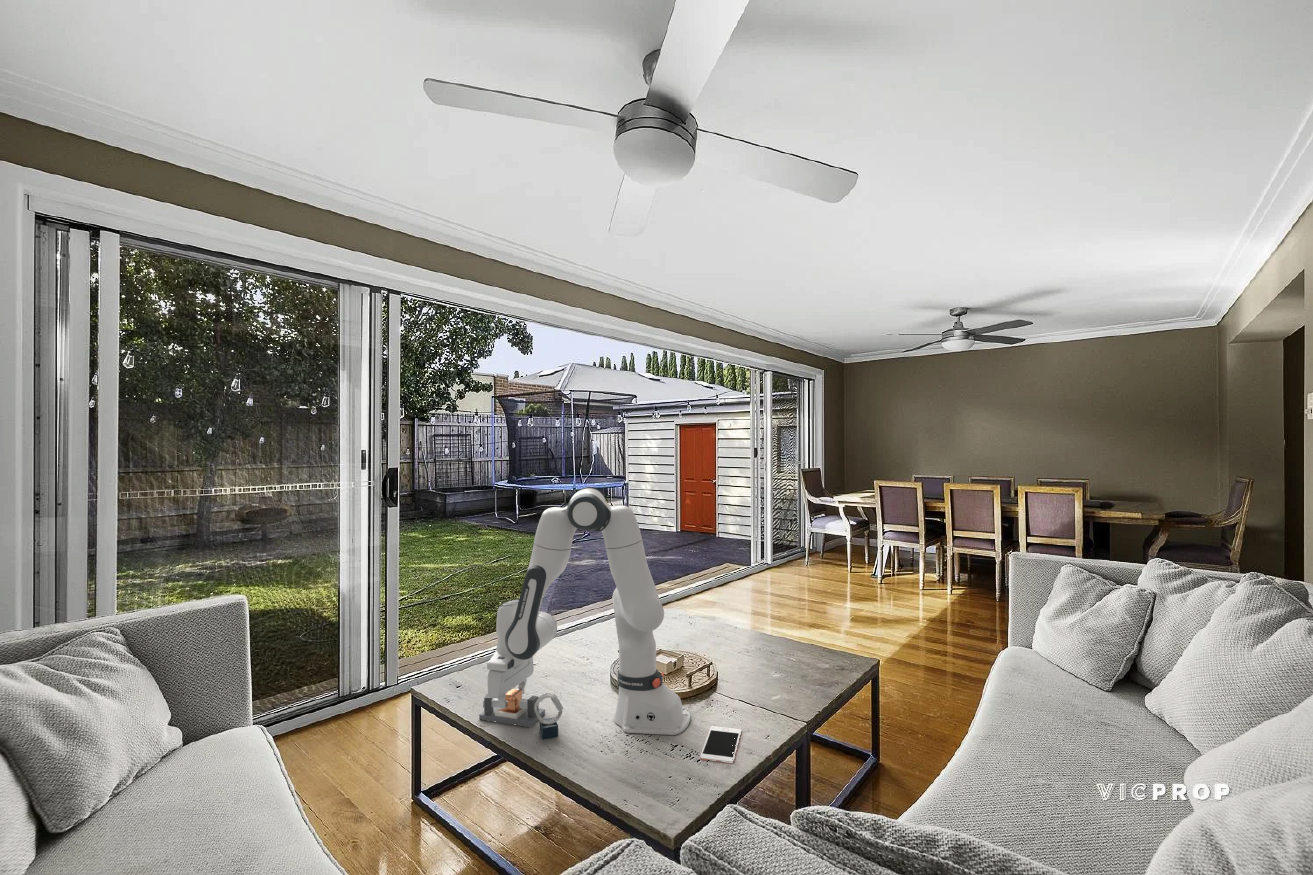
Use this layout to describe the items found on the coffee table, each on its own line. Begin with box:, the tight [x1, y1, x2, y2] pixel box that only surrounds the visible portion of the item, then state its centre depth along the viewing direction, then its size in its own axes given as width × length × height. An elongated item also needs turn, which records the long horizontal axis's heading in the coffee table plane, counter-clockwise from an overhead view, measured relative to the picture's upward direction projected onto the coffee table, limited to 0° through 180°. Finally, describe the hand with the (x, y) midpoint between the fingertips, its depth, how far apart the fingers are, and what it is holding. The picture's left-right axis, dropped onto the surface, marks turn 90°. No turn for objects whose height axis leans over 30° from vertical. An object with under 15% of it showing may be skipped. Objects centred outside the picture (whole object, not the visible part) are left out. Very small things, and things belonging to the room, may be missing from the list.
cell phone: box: [699, 725, 743, 762], centre depth 166 cm, size 9×18×1 cm, turn 165°
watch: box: [534, 692, 564, 740], centre depth 173 cm, size 6×8×11 cm
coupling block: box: [503, 688, 523, 714], centre depth 183 cm, size 4×4×6 cm
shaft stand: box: [478, 693, 546, 728], centre depth 184 cm, size 17×9×6 cm, turn 72°
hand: (512, 700), depth 184 cm, fingers open, 8 cm apart
